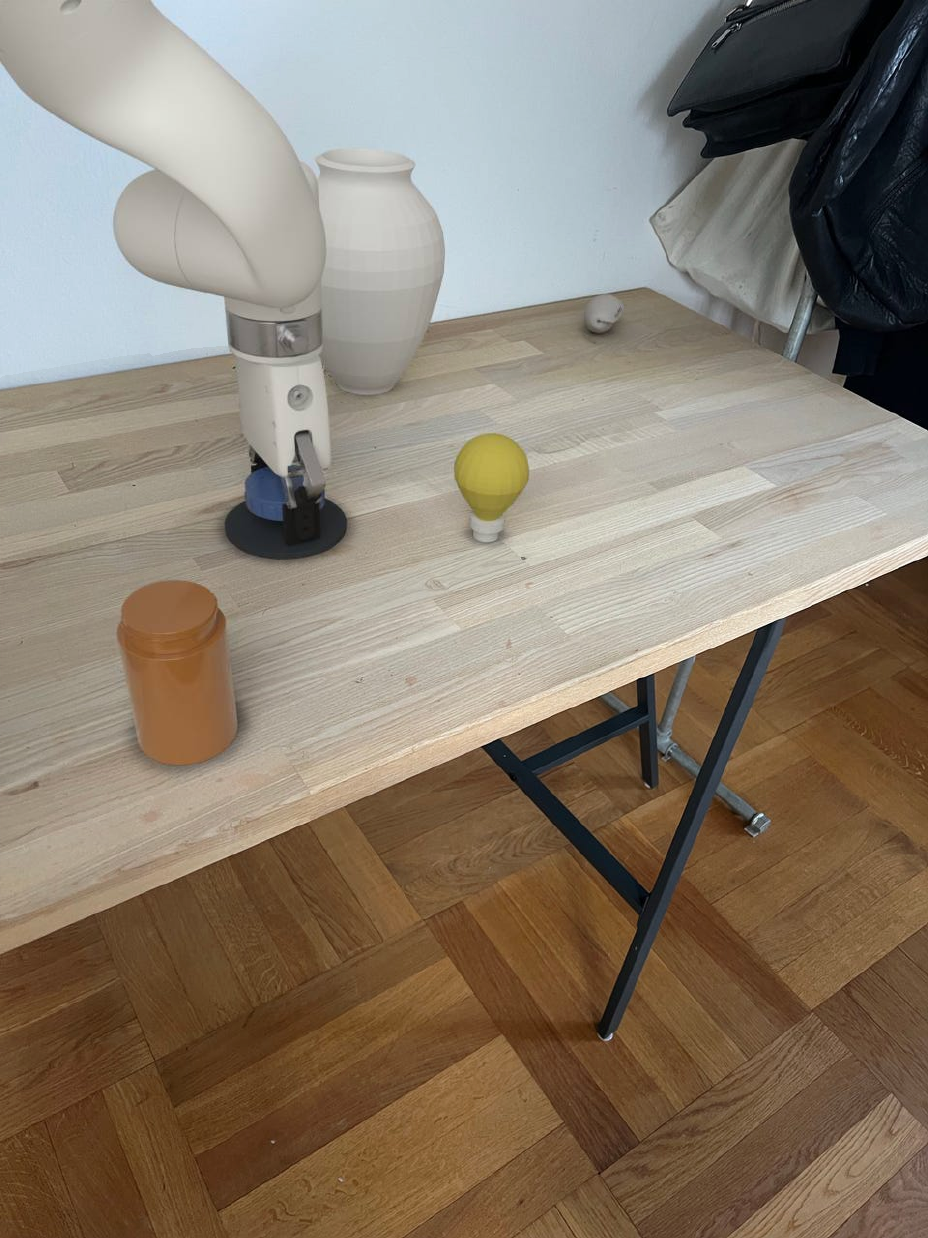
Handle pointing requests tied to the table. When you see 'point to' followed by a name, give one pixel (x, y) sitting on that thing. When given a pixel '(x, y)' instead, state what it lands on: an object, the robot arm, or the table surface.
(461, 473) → the light bulb
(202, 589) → the jar
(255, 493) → the lid
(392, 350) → the vase
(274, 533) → the coaster
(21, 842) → the table surface
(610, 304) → the stone
